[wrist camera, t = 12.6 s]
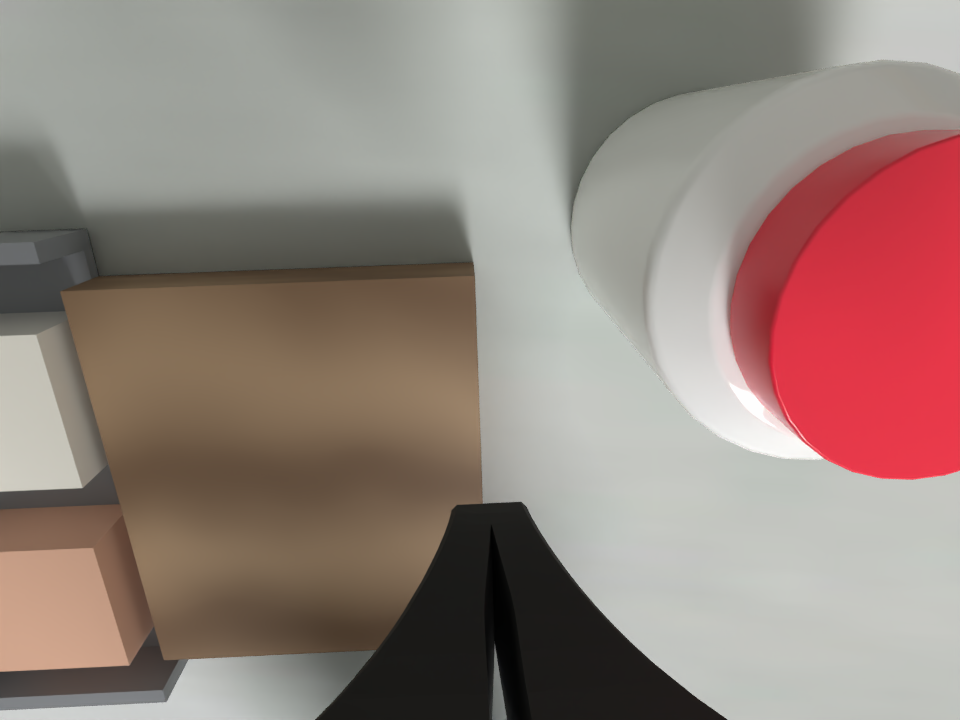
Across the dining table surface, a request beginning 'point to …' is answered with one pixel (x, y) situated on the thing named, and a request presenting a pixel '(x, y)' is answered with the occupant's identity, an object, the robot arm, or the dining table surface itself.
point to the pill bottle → (793, 261)
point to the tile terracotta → (69, 589)
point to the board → (283, 444)
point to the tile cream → (44, 407)
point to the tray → (36, 288)
